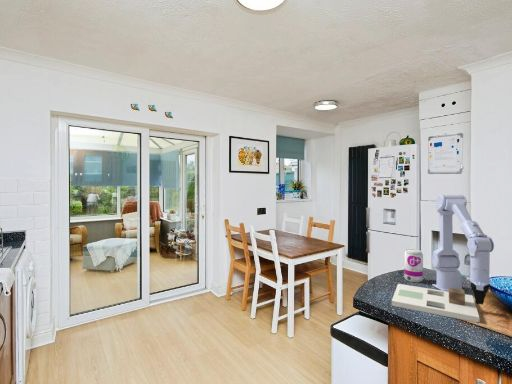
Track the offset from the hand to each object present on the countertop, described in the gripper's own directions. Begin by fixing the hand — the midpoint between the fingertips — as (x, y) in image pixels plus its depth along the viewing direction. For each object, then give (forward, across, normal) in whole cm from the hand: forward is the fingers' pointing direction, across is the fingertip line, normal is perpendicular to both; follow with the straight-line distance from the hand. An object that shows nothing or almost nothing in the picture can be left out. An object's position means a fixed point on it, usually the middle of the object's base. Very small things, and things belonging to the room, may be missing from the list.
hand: (479, 303), depth 110 cm
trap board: (+3, +1, -14) cm, 14 cm away
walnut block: (+1, +1, -7) cm, 7 cm away
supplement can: (+3, -25, -26) cm, 36 cm away
